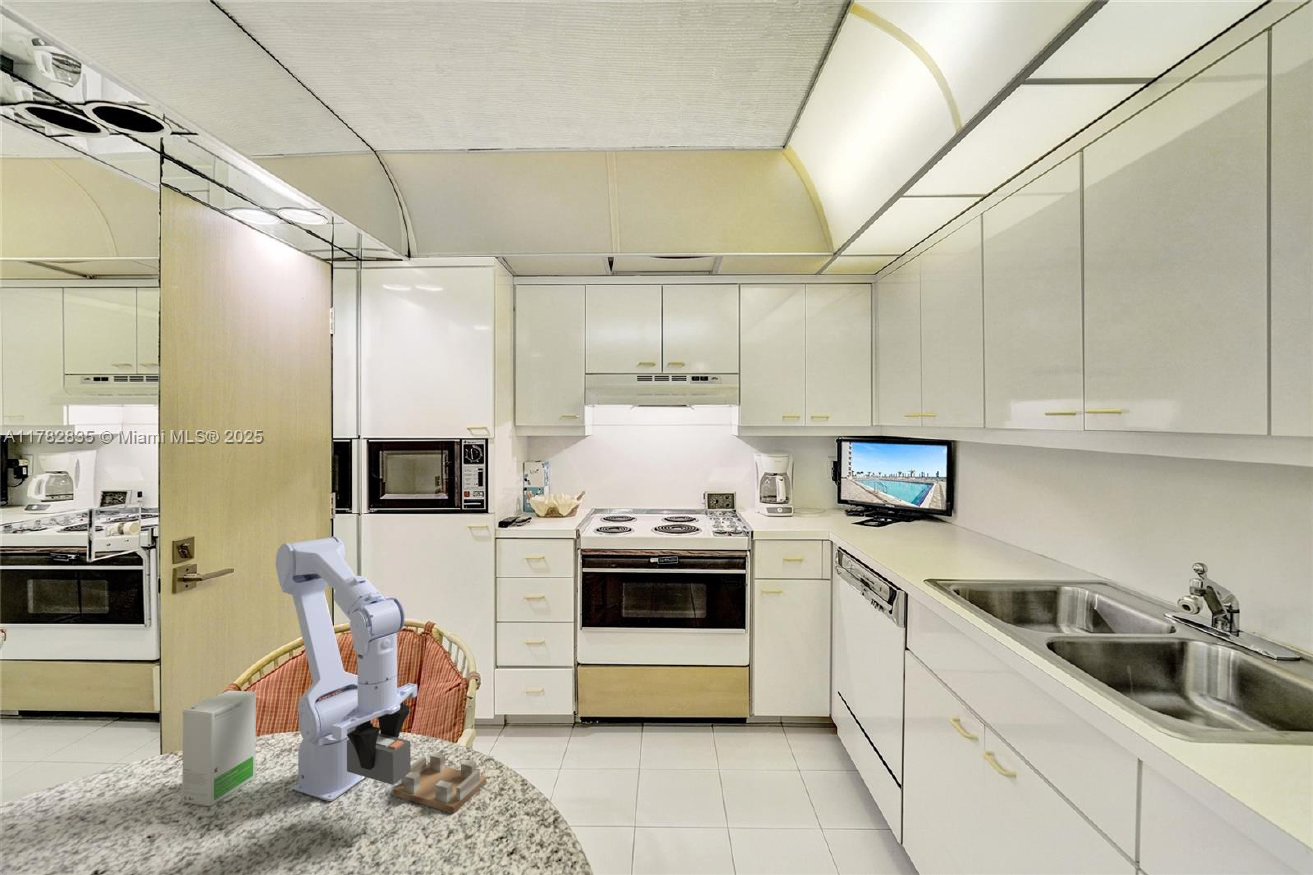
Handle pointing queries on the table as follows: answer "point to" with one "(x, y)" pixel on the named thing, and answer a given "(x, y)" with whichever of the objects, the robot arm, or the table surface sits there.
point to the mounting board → (440, 783)
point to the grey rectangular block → (383, 760)
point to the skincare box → (218, 747)
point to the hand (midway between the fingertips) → (378, 760)
